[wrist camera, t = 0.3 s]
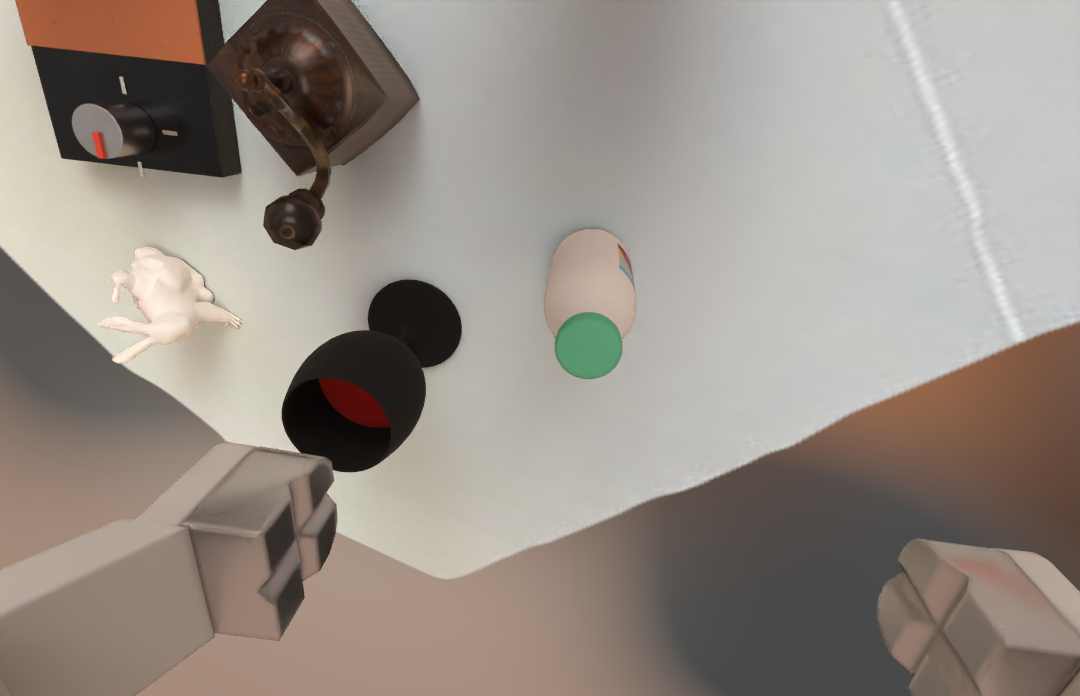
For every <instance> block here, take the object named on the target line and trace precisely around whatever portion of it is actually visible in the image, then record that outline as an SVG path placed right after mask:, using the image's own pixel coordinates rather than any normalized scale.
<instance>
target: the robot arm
mask: <svg viewBox="0 0 1080 696" xmlns="http://www.w3.org/2000/svg"><path fill="white" fill-rule="evenodd" d="M333 481H334V476H333V468H332V462H331V461H330V460H329V459H327V458H326V457H321V456H315V455H309V454H303V453H297V452H291V451H284V450H278V449H272V448H266V447H255V446H250V445H243V444H237V443H231V442H224V443H221V444H218V445H215V446H214V447H213V448H212V449H211V450H210V451H209V452H207V453H206V454H205V455H204V456H203V457H202V458H201V459H200V460H199V461H198V462H197V463H196V464H194V465H193V467H191V468H190V469H189V470H188V471H187V472H186V473H185V474H184V475H183V476H182V477H180V478H179V480H177V481H176V482H175V483H174V484H173V485H172V486H171V487H170V488H169V489H167V491H165V492H164V493H163V494H162V495H161V496H160V497H159V498H158V499H157V500H156V501H154V502H153V503H152V504H151V505H150V506H149V507H148V508H147V509H146V510H145V511H144V512H143V513H141V514H140V515H139V516H138V517H137V518H136V519H135V520H132V519H125V518H122V519H120V520H118V521H115V522H113V523H110V524H108V525H105V526H103V527H101V528H98V529H96V530H93V531H91V532H89V533H86V534H84V535H81V536H79V537H76V538H74V539H71V540H69V541H67V542H64V543H62V544H60V545H57V546H55V547H52V548H50V549H48V550H45V551H43V552H40V553H38V554H35V555H33V556H30V557H28V558H26V559H23V560H21V561H18V562H16V563H13V564H11V565H9V566H6V567H4V568H1V569H0V696H136V695H137V694H138V693H140V692H141V691H142V690H144V689H145V688H147V687H148V686H149V685H150V684H152V683H153V682H155V681H156V680H157V679H159V678H160V677H161V676H163V675H164V674H165V673H167V672H168V671H169V670H171V669H172V668H174V667H175V666H176V665H177V664H179V663H180V662H182V661H183V660H184V659H186V658H187V657H188V656H190V655H191V654H192V653H194V652H195V651H196V650H198V649H199V648H200V647H202V646H203V645H204V644H206V643H207V642H209V641H210V640H211V639H213V638H214V633H219V634H227V635H235V636H243V637H252V638H259V639H268V640H276V641H280V639H281V637H282V635H283V634H284V632H285V630H286V628H287V627H288V625H289V623H290V622H291V620H292V618H293V616H294V615H295V613H296V611H297V609H298V608H299V606H300V604H301V603H302V601H303V599H304V589H303V581H304V580H306V579H307V578H309V577H311V576H312V575H314V574H316V573H317V572H319V571H320V570H321V568H322V566H323V564H324V562H325V561H326V559H327V557H328V555H329V553H330V550H331V547H332V543H333V540H334V537H335V534H336V525H337V507H336V504H335V503H334V501H333V500H332V499H331V498H330V497H329V495H328V494H327V493H326V492H327V491H328V489H329V488H330V486H331V485H332V483H333ZM898 560H899V563H900V565H901V568H902V570H903V573H901V574H899V575H898V576H896V577H894V578H893V579H891V580H889V581H887V582H886V583H885V585H884V588H883V590H882V592H881V594H880V596H879V599H878V623H879V627H880V631H881V635H882V638H883V640H884V642H885V644H886V645H887V648H888V650H889V652H890V654H891V655H892V656H893V657H894V658H895V659H896V660H897V661H899V662H900V663H901V664H902V665H903V666H904V667H906V668H907V669H908V670H909V671H910V672H911V676H910V681H909V685H908V689H909V690H910V692H911V694H912V696H1080V592H1079V591H1078V590H1077V589H1076V588H1075V587H1074V586H1073V585H1072V584H1071V583H1070V582H1069V581H1068V580H1067V579H1066V578H1065V576H1064V575H1063V574H1062V573H1061V572H1060V571H1059V570H1058V569H1057V568H1056V567H1055V566H1054V565H1053V564H1052V563H1051V562H1050V561H1048V560H1047V559H1045V558H1043V557H1041V556H1039V555H1038V554H1036V553H1033V552H1025V551H1016V550H1008V549H999V548H992V549H990V548H984V547H976V546H969V545H962V544H954V543H946V542H939V541H931V540H923V539H914V540H913V541H911V542H910V543H908V544H907V545H905V547H904V549H903V551H902V553H901V554H900V556H899V558H898Z"/></svg>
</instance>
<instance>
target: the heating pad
mask: <svg viewBox="0 0 1080 696" xmlns="http://www.w3.org/2000/svg"><path fill="white" fill-rule="evenodd" d="M15 1H16V5H17V8H18V12H19V16H20V19H21V23H22V27H23V30H24V34H25V38H26V41H27V45H30V46H39V47H49V48H58V49H67V50H76V51H85V52H94V53H103V54H112V55H121V56H130V57H140V58H149V59H158V60H167V61H176V62H185V63H194V64H203V65H206V61H205V55H204V48H203V41H202V35H201V28H200V21H199V15H198V8H197V1H196V0H15Z"/></svg>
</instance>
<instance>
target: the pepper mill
mask: <svg viewBox="0 0 1080 696" xmlns="http://www.w3.org/2000/svg"><path fill="white" fill-rule="evenodd" d="M207 67H208V68H209V69H210V70H211V72H212V73H213V74H214V76H215V77H216V78H217V79H218V81H219V82H220V83H221V85H222V86H223V87H224V88H225V90H226V91H227V92H228V93H229V95H230V96H231V97H232V98H233V100H234V101H235V102H236V103H237V104H238V106H239V107H240V108H241V109H242V111H243V112H244V113H245V114H246V116H247V117H248V119H249V120H250V121H251V122H252V123H253V125H254V126H255V127H256V128H257V129H258V130H259V131H260V132H261V134H262V135H263V136H264V137H265V138H266V140H267V141H268V142H269V143H270V144H271V146H272V147H273V148H274V149H275V151H276V152H277V153H278V154H279V155H280V157H281V158H282V159H283V160H284V161H285V162H286V164H287V165H288V166H289V167H290V168H291V170H292V171H293V172H294V173H295V174H296V175H297V176H302V175H305V174H308V173H311V172H315V171H317V174H316V178H315V181H314V183H313V185H312V187H311V189H310V190H307V189H297V190H296V191H294V192H292V193H290V194H289V195H284V196H282V197H280V198H278V199H277V200H275V201H274V202H272V203H271V204H269V205H268V206H266V210H265V216H264V224H263V226H264V228H265V229H266V231H267V232H268V234H269V236H270V237H271V239H272V241H273V242H274V243H277V244H279V245H282V246H285V247H288V248H291V249H293V250H297V249H301V248H305V247H308V246H312V245H313V243H314V241H315V240H316V238H317V236H318V235H319V233H320V232H321V230H322V221H321V219H322V218H323V216H324V214H325V206H324V204H323V202H322V200H321V199H322V198H323V195H324V193H325V191H326V189H327V187H328V185H329V182H330V175H331V167H332V166H336V165H343V166H344V165H345V164H347V163H348V162H349V161H351V160H352V159H354V158H355V157H356V156H358V155H359V154H361V153H362V152H364V151H365V150H366V149H368V148H369V147H370V146H371V145H372V144H374V143H375V142H376V141H377V140H378V139H380V138H381V137H382V136H383V135H384V134H385V133H387V132H388V131H389V130H390V129H391V128H392V127H394V126H395V125H396V124H397V123H398V122H399V121H400V120H401V119H402V118H403V117H404V116H405V115H406V113H407V112H408V111H409V110H410V109H411V108H412V107H413V106H414V104H415V103H416V102H417V101H418V100H419V97H418V95H417V93H416V91H415V89H414V87H413V85H412V83H411V81H410V80H409V78H408V77H407V75H406V74H405V72H404V71H403V70H402V68H401V67H400V65H399V64H398V62H397V61H396V60H395V58H394V57H393V55H392V54H391V53H390V51H389V50H388V48H387V47H386V46H385V44H384V43H383V42H382V40H381V39H380V37H379V36H378V35H377V33H376V32H375V31H374V30H373V28H372V27H371V26H370V24H369V23H368V22H367V21H366V19H365V18H364V17H363V15H362V14H361V13H360V11H359V10H358V9H357V8H356V6H355V5H354V4H353V2H352V1H351V0H267V1H266V2H265V3H264V4H263V5H262V6H261V7H260V8H259V9H258V10H257V11H256V12H255V13H254V15H253V16H252V17H251V18H250V19H249V20H248V21H247V22H246V23H245V24H244V25H243V26H242V27H241V28H240V29H239V30H238V31H237V32H236V33H235V34H234V35H233V36H232V37H231V38H230V39H229V40H228V41H227V42H226V43H225V44H224V46H223V47H222V48H221V49H220V50H219V51H218V52H217V53H216V54H215V55H214V56H213V58H212V59H211V60H210V61H209V62H208V63H207Z"/></svg>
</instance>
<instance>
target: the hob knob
mask: <svg viewBox="0 0 1080 696" xmlns="http://www.w3.org/2000/svg"><path fill="white" fill-rule="evenodd" d="M72 127H73V131H74V133H75V136H76V138H77V140H78V141H79V143H80V144H81V145H82V146H83V147H84V148H85V149H86V150H87V151H88V152H90V153H91V154H93V155H94V156H97V157H98V158H102V159H109V158H116V157H123V156H130V155H137V154H144V153H147V152H149V151H150V150H151V149H152V148H153V147H154V145H155V142H156V131H155V127H154V125H153V122H152V121H151V119H150V117H149V116H148V115H147V114H146V113H145V112H144V111H143V110H142V109H141V108H140V107H138V106H136V105H134V104H131V103H126V102H120V103H87V104H82V105H80V106H79V107H77V108H76V110H75V111H74V113H73V116H72Z"/></svg>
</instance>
